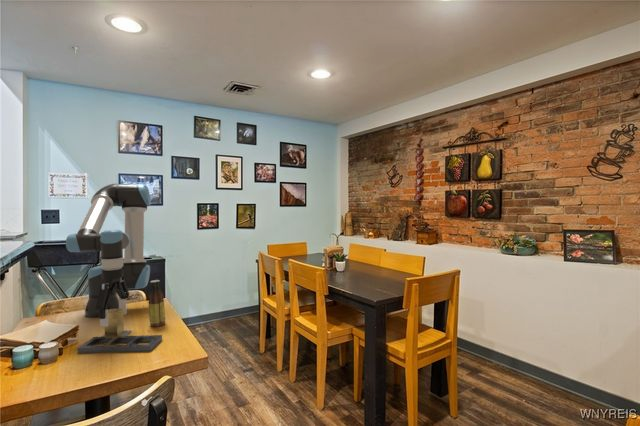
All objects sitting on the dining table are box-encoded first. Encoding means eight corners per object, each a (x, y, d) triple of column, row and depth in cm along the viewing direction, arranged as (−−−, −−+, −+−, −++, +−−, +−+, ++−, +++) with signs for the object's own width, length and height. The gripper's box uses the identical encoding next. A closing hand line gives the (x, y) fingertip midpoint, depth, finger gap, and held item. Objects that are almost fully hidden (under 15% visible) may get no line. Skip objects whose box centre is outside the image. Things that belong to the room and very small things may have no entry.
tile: (109, 332, 142) (109, 330, 142) (131, 331, 142) (131, 330, 142) (96, 341, 133) (96, 339, 133) (119, 340, 133) (119, 339, 133)
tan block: (111, 332, 140) (110, 308, 140) (124, 332, 140) (123, 308, 140) (104, 337, 135) (103, 312, 135) (117, 337, 135) (116, 312, 135)
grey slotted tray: (94, 341, 132) (94, 336, 132) (162, 340, 134) (162, 335, 134) (77, 353, 122) (77, 348, 122) (150, 351, 124) (150, 346, 124)
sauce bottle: (162, 321, 155) (161, 278, 154) (167, 324, 150) (166, 280, 149) (147, 324, 150) (145, 280, 149) (151, 328, 146) (150, 283, 145)
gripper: (119, 262, 149) (120, 310, 149) (82, 275, 124) (84, 332, 125) (137, 262, 149) (138, 309, 150) (104, 275, 124) (105, 331, 125)
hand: (114, 320), depth 137 cm, fingers open, 13 cm apart
